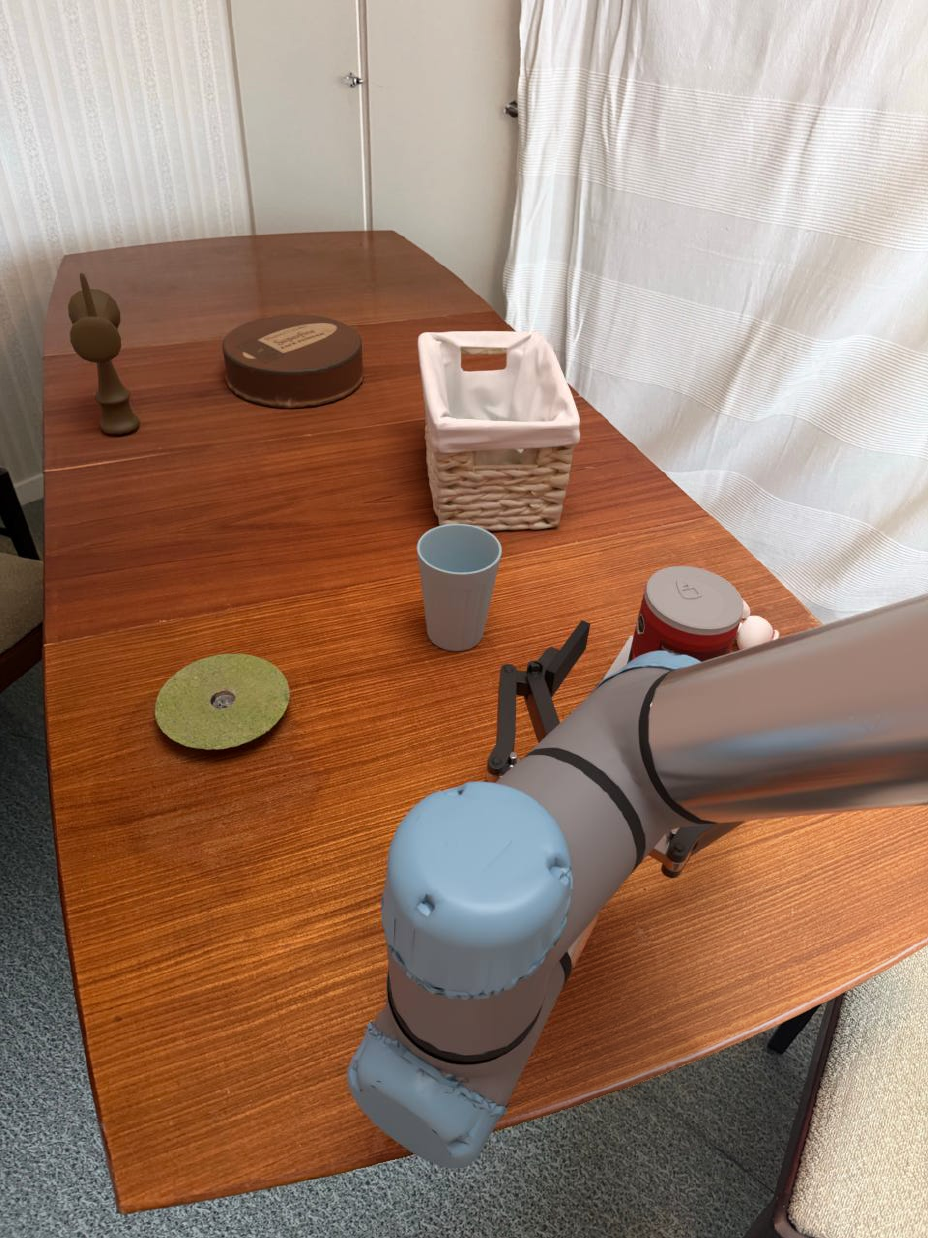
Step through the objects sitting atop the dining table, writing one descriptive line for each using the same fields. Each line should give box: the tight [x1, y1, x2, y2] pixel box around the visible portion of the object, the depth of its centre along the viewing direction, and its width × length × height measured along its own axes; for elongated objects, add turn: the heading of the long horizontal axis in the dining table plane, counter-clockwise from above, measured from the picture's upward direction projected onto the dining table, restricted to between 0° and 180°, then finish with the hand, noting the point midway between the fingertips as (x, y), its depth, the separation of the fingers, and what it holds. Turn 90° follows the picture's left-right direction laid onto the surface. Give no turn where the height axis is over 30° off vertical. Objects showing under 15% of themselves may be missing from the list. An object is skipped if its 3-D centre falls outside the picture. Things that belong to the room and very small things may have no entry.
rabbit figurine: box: [736, 598, 780, 651], centre depth 81 cm, size 6×4×8 cm
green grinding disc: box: [154, 653, 291, 751], centre depth 72 cm, size 11×11×2 cm
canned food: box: [627, 565, 744, 664], centre depth 69 cm, size 8×8×11 cm
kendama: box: [67, 272, 141, 436], centre depth 103 cm, size 6×10×20 cm, turn 19°
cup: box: [416, 524, 503, 652], centre depth 78 cm, size 8×8×10 cm
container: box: [221, 313, 365, 409], centre depth 121 cm, size 20×20×6 cm
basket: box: [417, 330, 581, 532], centre depth 98 cm, size 24×16×15 cm
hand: (665, 666), depth 63 cm, fingers open, 13 cm apart
